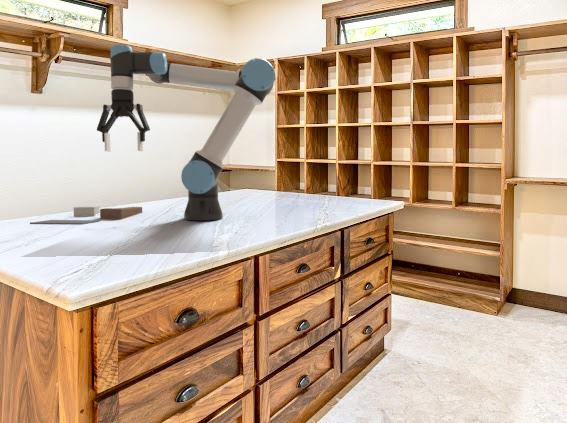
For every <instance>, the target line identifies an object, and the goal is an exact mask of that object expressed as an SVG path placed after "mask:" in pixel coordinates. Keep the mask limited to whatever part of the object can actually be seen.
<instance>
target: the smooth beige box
mask: <svg viewBox="0 0 567 423" xmlns="http://www.w3.org/2000/svg"><path fill="white" fill-rule="evenodd" d="M100 209H101V208H100V206H75V207H73V217H74V216H76V217H96V216H97V215H99V214H98V213H100ZM96 214H97V215H96Z"/></svg>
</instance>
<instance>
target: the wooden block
mask: <svg viewBox="0 0 567 423" xmlns="http://www.w3.org/2000/svg"><path fill="white" fill-rule="evenodd" d="M142 213H143V207H142V206H128V207H118V208H117V207H116V208H108V207H107V208H105V207H104V208H100V214H99V215H100V216H99V218H100V220H123V219H127V218H130V217H133V216H137V215H140V214H142Z"/></svg>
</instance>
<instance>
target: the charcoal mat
mask: <svg viewBox="0 0 567 423" xmlns="http://www.w3.org/2000/svg"><path fill="white" fill-rule="evenodd" d="M101 220H102V219H100V220H99V219H97V220H96V219H95V220H94V219H93V220H92V219H88V220H87V219H48V220H41V221H33V222H29V224H30V225H47V224H48V225H86V224H94V223H99V221H100V222H101Z"/></svg>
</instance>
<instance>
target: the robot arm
mask: <svg viewBox="0 0 567 423" xmlns="http://www.w3.org/2000/svg"><path fill="white" fill-rule="evenodd" d="M109 60H110V88H111V89H112V90H111V93H110V94H111V104H103V105H102V113H101V116H100V119H99V122H98V124H97V127H96V131H97V132H100V133H101V136H102V138H101V140H102V143H104V152H108V153H109V152H111V134H110V133H109V131H110V129H111V128H112V127H113V126H114V124H115V122H116V120H117V119H119V118H124V117H125V118H127V117H129V119H130V120H131V121H132V123H133V124H134V126H135V127H136V129H137V130H138V132H137V134H136V135H137V137H136V138H137V151H139V152H143V151H144V150H143V148H144V147H143V145H144V142H145V141H146V133H147V132H150V130H151V128H150V125H149V122H148V121H147V118H146V116H145V114H144V111H143V105H142V104H141V103H136V104H135V103H134V91H133V90H134V75H146V76H147V77H149V79H150V80H151V82H153V83H156V84H160V85H162V84H164V83H166V84H175V85H183V86H190V87H197V88H205V89H212V90H213V89H214V90H221V91H228V92H234V94H233V96H232V98H231V99H230V101H229V103H228V105H227V106H226V108H225V109H224V112H223V113H222V114H221V116H220V118H219V119H218V121H217V123H216V125H215V126H214V128H213V129H212V131H211V133H210V135H209V136H208V138H207V140H206V142H205V143H204V145H203V147H202V148H201V149H200V150H196V151H194V153H193V155H192V157H191V159H190V160H189V161H188V162H187V163H186V164H185V165H184V166H183V168H182V170H181V175H180V176H181V177H180V178H181V183H182V184H183V186H184V188H185V189H186V190H187V191H188V192H187V194H188V195H187V196H188V198H187V199H188V200H187V204H186V207H185V209H184V212H183V219H184V220H187V221H213V220H214V221H215V220H216V221H218V220H223V218H224V217H223V216H224V215H223V210H222V208H221V205H220V202H219V176H220V174H221V173H222V171H223V169H224V164H223V161H224V160H225V158H226V156H227V154H228V152H229V151H230V149H231V147H232V146H233V144H234V143H235V141H236V139H237V138H238V136H239V134H240V132H241V131H242V130H243V127H244V126H245V124H246V123H247V120H248V119H249V117H250V115H252V114H251V113H253V110H254V109H255V107H256V106H258V105H262V104H263V102H264V100H265V99H266V97H267V95H269V94H270V93H271V91H272V90H273V87H274V83H275V80H276V72H275V68H274V67H273V65H272V64H271V63H270V62H269V61H268V60H266V59H265V58H259V57H255V58H252V59H250V60H248V61H247V62H246V63H245V64H244V65H243V67H242V69H241V68H239V69H238V70H236V71H234V70H226V69H218V68H211V67H203V66H196V65H195V66H194V65H187V64H181V63H171V62H168V58H167V56H166V54H165V53H164V52H158V51H153V52H151V51H150V52H149V51H145V52H144V51H142V52H141V51H133V48H132V47H131V46H129V45H125V44H114V45H112V46H111V47H110V57H109ZM111 110H112V112H111V114H110V111H111ZM134 110H136V113H137V115H138V117H139V120H138V118H137V117H136V115H135V113H134ZM109 115H110V117H109Z"/></svg>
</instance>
